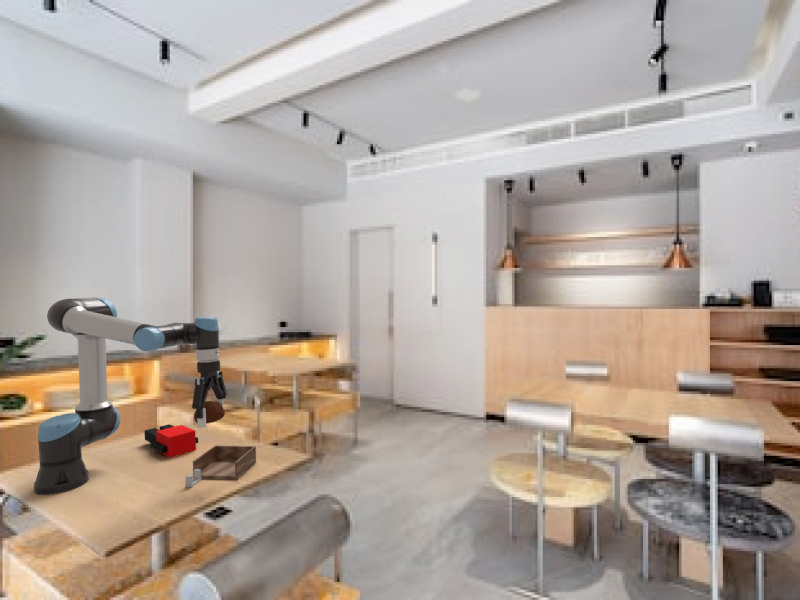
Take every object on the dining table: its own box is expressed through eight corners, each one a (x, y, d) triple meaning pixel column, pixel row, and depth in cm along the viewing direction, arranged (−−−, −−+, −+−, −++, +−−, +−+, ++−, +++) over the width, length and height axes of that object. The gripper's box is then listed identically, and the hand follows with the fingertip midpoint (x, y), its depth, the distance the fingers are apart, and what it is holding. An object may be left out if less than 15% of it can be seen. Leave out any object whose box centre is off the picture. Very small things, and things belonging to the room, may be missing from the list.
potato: (231, 419, 159) (230, 397, 158) (205, 428, 148) (204, 405, 148) (215, 417, 162) (214, 395, 161) (189, 426, 151) (188, 403, 151)
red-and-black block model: (173, 418, 199) (200, 429, 184) (174, 436, 200) (200, 448, 184) (138, 426, 188) (163, 439, 172) (139, 446, 188) (164, 459, 173)
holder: (193, 478, 155) (192, 461, 155) (215, 461, 170) (215, 445, 170) (237, 479, 153) (236, 462, 153) (256, 462, 168) (255, 446, 168)
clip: (185, 487, 148) (184, 476, 148) (195, 479, 154) (194, 469, 154) (191, 487, 148) (191, 476, 148) (201, 479, 154) (201, 469, 154)
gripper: (199, 366, 142) (202, 433, 143) (234, 354, 166) (237, 412, 166) (178, 366, 143) (181, 432, 144) (216, 355, 166) (218, 412, 167)
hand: (211, 421), depth 155 cm, fingers closed on potato, 11 cm apart
